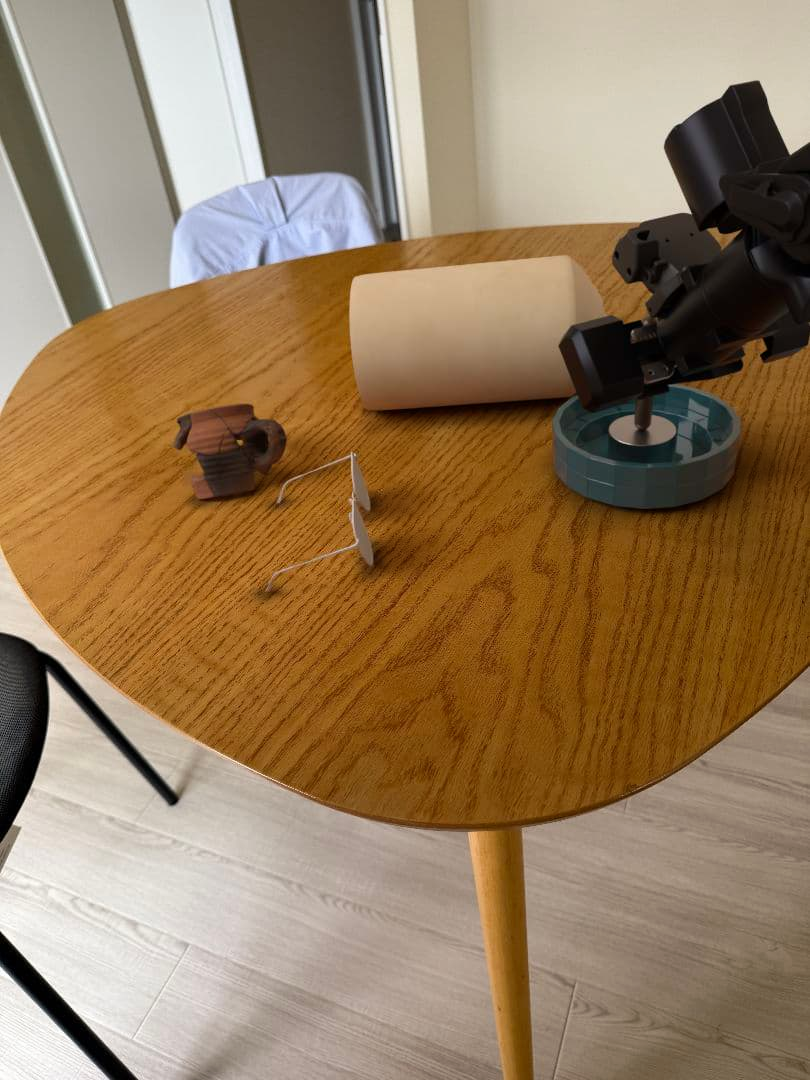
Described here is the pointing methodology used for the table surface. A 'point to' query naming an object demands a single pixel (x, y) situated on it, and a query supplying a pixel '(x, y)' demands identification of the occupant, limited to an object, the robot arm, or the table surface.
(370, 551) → the sunglasses
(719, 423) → the bowl
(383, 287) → the candle
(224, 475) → the pottery mug
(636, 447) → the silver joystick
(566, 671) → the table surface
